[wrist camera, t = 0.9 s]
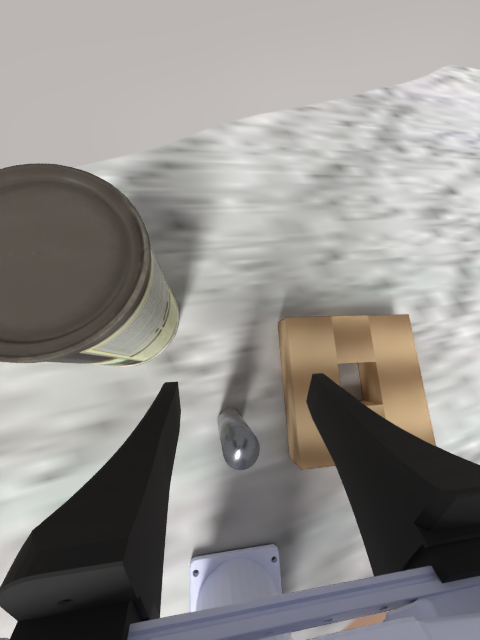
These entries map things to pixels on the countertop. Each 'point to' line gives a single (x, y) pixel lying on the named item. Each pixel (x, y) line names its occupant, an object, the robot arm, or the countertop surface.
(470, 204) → the countertop surface
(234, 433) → the pin
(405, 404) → the tan slotted block
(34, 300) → the coffee can
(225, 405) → the countertop surface
